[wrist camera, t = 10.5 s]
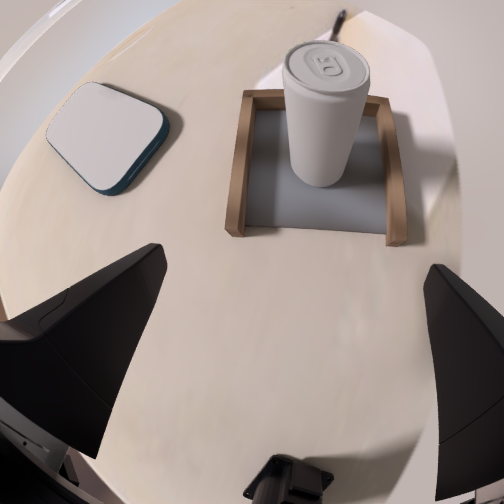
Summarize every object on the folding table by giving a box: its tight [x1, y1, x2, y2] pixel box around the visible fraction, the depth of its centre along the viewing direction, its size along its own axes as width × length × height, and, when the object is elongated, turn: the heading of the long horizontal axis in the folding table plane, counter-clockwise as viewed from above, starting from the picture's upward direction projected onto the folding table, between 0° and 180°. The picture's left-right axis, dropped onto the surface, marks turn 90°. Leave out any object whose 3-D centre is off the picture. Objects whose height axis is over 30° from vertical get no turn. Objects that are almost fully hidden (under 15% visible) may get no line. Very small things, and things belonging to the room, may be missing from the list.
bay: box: [225, 89, 407, 247], centre depth 22 cm, size 14×14×2 cm
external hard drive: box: [46, 82, 169, 196], centre depth 28 cm, size 24×12×2 cm, turn 53°
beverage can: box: [282, 40, 370, 187], centre depth 17 cm, size 5×5×12 cm
